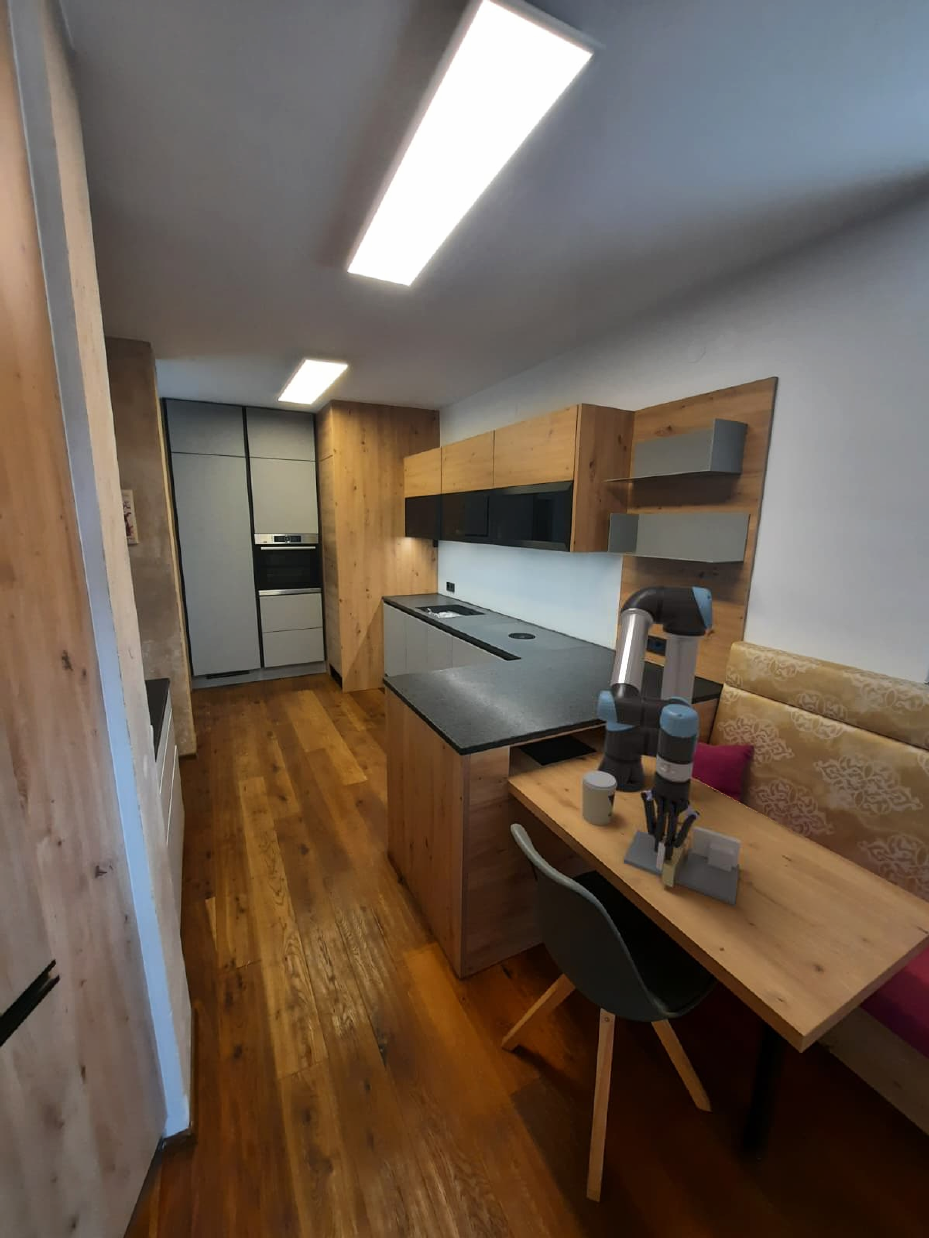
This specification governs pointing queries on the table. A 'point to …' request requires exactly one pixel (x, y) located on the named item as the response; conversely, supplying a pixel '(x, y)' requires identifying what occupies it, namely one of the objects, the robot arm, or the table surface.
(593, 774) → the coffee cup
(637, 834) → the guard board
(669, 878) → the swing bar
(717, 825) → the table surface
